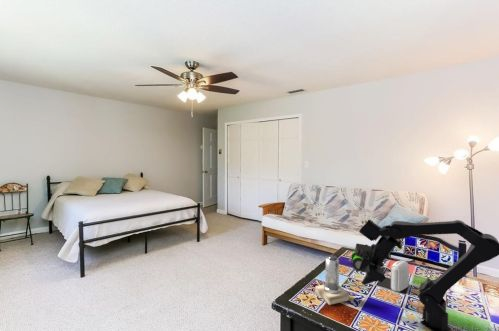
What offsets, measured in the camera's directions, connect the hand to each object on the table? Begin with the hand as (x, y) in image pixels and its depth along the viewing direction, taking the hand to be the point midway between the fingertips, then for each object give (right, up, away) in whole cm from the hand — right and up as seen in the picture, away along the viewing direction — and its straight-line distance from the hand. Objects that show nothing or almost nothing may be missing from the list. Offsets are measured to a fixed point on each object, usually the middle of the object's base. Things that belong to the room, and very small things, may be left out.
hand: (361, 276), depth 104 cm
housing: (-11, -8, +5) cm, 14 cm away
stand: (-11, -11, +5) cm, 16 cm away
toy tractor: (+17, -10, +33) cm, 38 cm away
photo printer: (+23, -11, +11) cm, 28 cm away
